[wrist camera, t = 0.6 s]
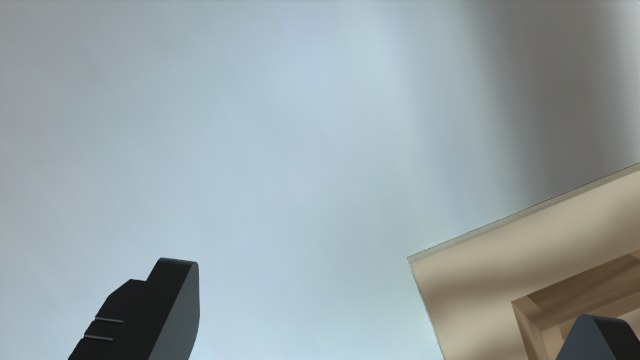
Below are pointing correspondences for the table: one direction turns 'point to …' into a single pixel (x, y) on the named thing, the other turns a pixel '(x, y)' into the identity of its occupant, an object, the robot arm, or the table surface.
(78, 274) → the table surface
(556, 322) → the socket board
